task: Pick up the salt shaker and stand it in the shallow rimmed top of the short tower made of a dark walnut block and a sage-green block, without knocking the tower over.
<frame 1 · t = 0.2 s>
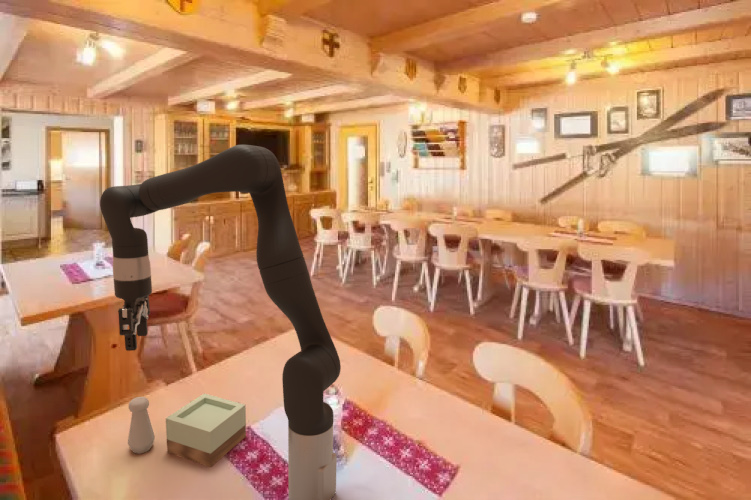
hand: (137, 342, 108), 27 cm above the table, tool pointing down, fingers open, 8 cm apart
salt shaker: (142, 449, 113), on the table
top block: (207, 431, 114), point 3 cm above the table, touching base block
base block: (208, 445, 115), on the table, touching top block
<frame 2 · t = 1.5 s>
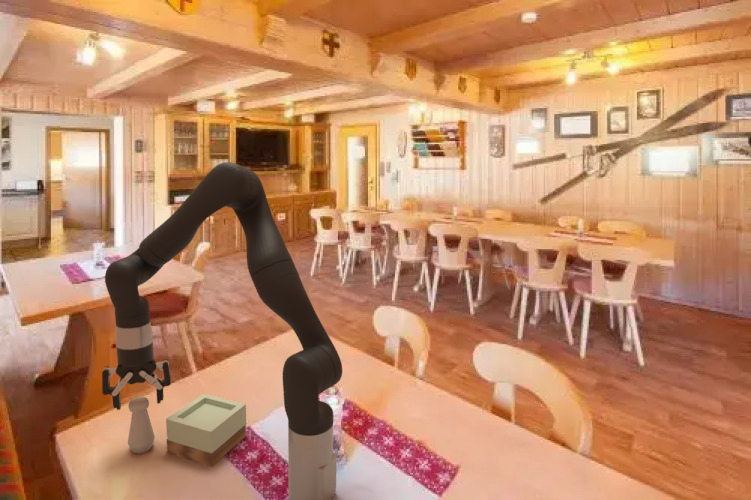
hand: (139, 404, 111), 11 cm above the table, tool pointing down, fingers open, 8 cm apart
top block: (208, 431, 114), point 3 cm above the table
base block: (208, 445, 115), on the table
everything else where it was.
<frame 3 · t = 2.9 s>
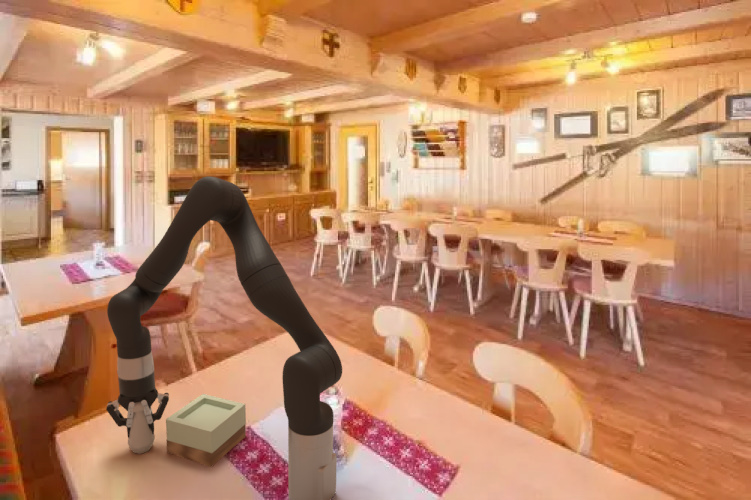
hand: (141, 436, 112), 3 cm above the table, tool pointing down, fingers closed on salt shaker, 3 cm apart
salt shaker: (142, 449, 113), on the table, touching gripper
everything else where it was.
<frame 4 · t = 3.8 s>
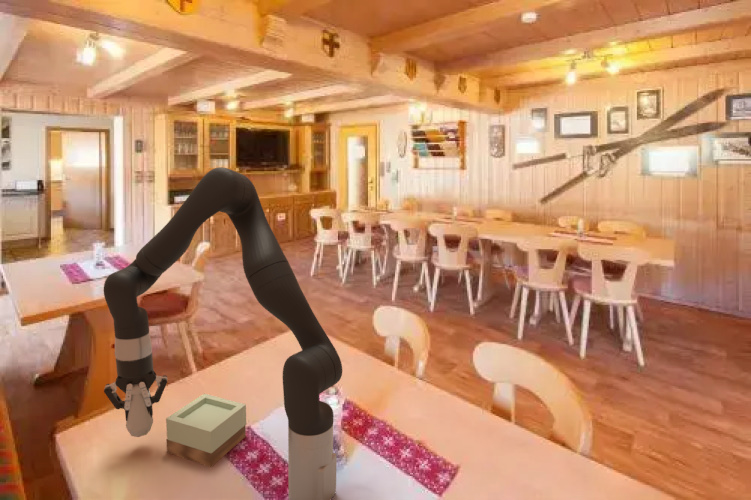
hand: (139, 420, 111), 8 cm above the table, tool pointing down, fingers closed on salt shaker, 3 cm apart
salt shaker: (140, 433, 111), point 4 cm above the table, touching gripper
everything else where it was.
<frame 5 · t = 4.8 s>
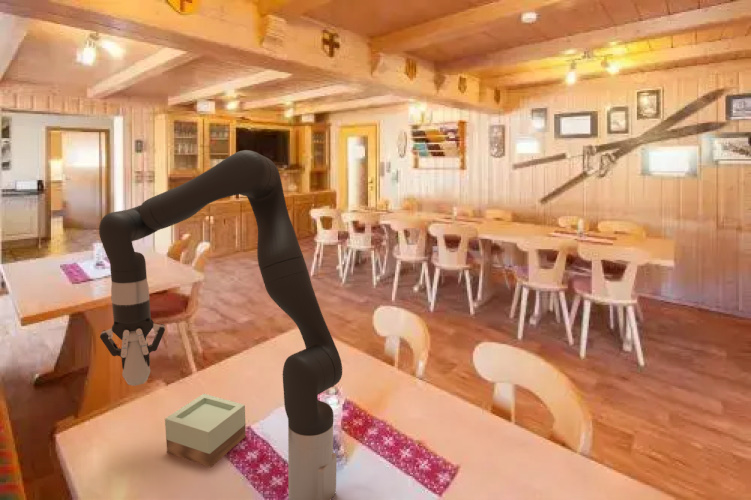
hand: (136, 369, 108), 21 cm above the table, tool pointing down, fingers closed on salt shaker, 3 cm apart
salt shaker: (137, 382, 109), point 17 cm above the table, touching gripper
everything else where it was.
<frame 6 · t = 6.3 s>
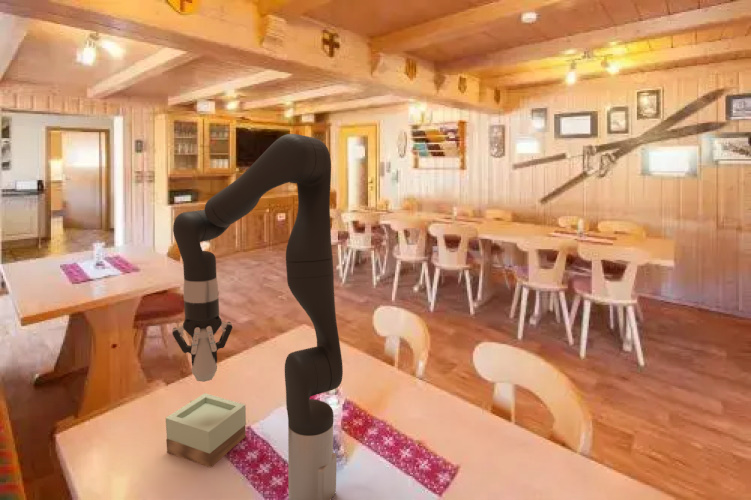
hand: (204, 365, 111), 21 cm above the table, tool pointing down, fingers closed on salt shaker, 3 cm apart
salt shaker: (204, 378, 112), point 18 cm above the table, touching gripper
top block: (207, 431, 115), point 3 cm above the table, touching base block
base block: (207, 446, 115), on the table, touching top block
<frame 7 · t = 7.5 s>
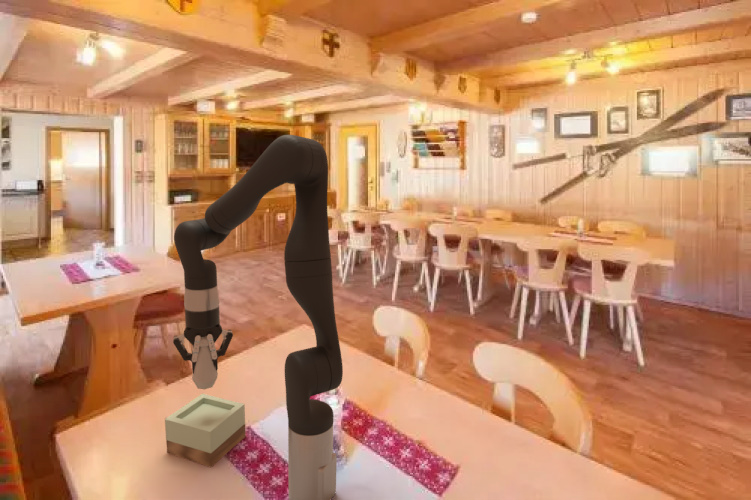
hand: (205, 373, 111), 19 cm above the table, tool pointing down, fingers closed on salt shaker, 3 cm apart
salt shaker: (205, 386, 112), point 16 cm above the table, touching gripper
everything else where it was.
when the fingers open (11 cm above the table, at t = 11.2 s): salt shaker stays where it is, resting on top block.
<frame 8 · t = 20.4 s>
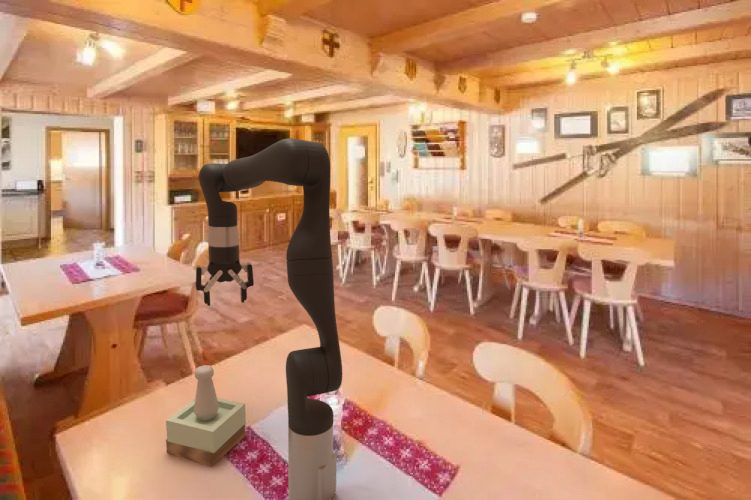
hand: (225, 303, 122), 32 cm above the table, tool pointing down, fingers open, 8 cm apart
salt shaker: (206, 417, 114), point 7 cm above the table, touching top block
top block: (207, 431, 114), point 3 cm above the table, touching base block, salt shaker
everything else where it was.
at the end: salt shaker 0.1 cm off-centre on the top block, point 3.8 cm above the top block's base; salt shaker tilted 1°; top block moved 0.7 cm from its start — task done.
